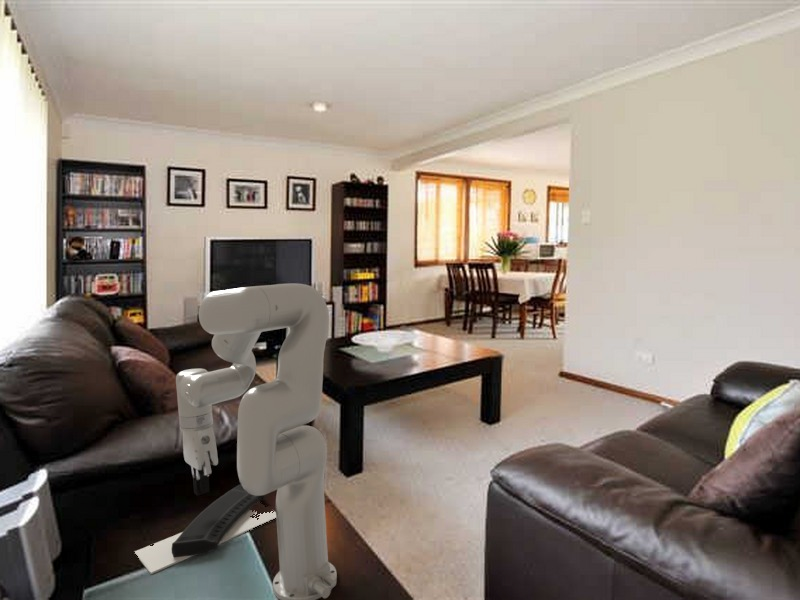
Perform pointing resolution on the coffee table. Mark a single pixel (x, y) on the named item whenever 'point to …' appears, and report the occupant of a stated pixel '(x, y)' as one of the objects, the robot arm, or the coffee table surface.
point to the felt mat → (163, 557)
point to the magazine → (214, 523)
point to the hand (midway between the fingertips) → (202, 492)
